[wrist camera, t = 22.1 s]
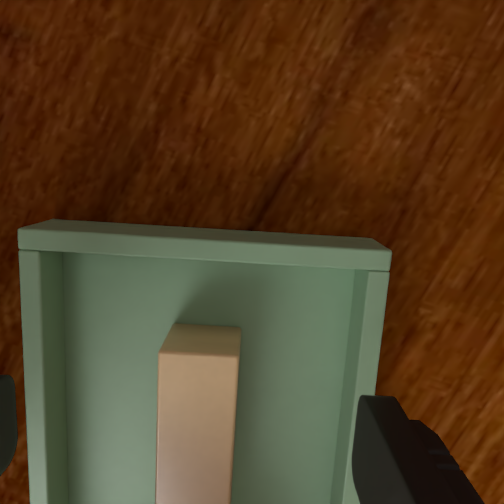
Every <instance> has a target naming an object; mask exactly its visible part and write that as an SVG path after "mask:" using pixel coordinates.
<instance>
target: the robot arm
mask: <svg viewBox="0 0 504 504" xmlns="http://www.w3.org/2000/svg"><path fill="white" fill-rule="evenodd" d="M17 439H18V432H17V415H16V398H15V384H14V380H13V378H12V377H11V376H9V375H0V476H1V474H2V473H3V472H4V471H5V469H6V468H7V467H8V465H9V464H10V462H11V460H12V458H13V456H14V453H15V450H16V446H17ZM352 476H353V482H354V486H355V489H356V492H357V495H358V499H359V502H360V504H484V502H483V501H482V499H481V498H480V496H479V495H478V493H477V492H476V490H475V489H474V487H473V486H472V484H471V483H470V482H469V480H468V479H467V477H466V476H465V474H464V473H463V471H462V470H460V469H459V465H458V464H457V462H456V461H455V459H454V458H453V456H451V455H450V454H449V451H448V449H447V448H446V446H445V445H444V443H443V442H442V440H441V439H440V437H439V436H438V435H437V434H436V433H435V432H433V431H432V430H431V429H430V428H428V427H427V426H426V425H424V424H423V423H422V422H421V421H419V420H409V419H408V417H407V416H406V414H405V412H404V411H403V409H402V407H401V406H400V404H399V403H398V401H397V399H396V398H395V397H393V396H375V395H361V396H360V398H359V401H358V406H357V415H356V423H355V432H354V440H353V449H352Z"/></svg>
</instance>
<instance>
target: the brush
mask: <svg viewBox="0 0 504 504" xmlns="http://www.w3.org/2000/svg"><path fill="white" fill-rule="evenodd" d="M241 331H242V330H241V328H240V327H228V326H211V325H195V324H178V323H174V324H173V325H172V327H171V329H170V330H169V332H168V334H167V336H166V338H165V340H164V342H163V344H162V346H161V348H160V350H159V352H158V377H157V424H156V472H155V504H231V497H232V480H233V464H234V447H235V430H236V414H237V397H238V381H239V364H240V347H241Z"/></svg>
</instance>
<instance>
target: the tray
mask: <svg viewBox="0 0 504 504" xmlns="http://www.w3.org/2000/svg"><path fill="white" fill-rule="evenodd" d="M18 247H19V249H21V250H19V273H20V295H21V317H22V339H23V361H24V383H25V405H26V427H27V449H28V471H29V492H30V504H155V472H156V424H157V377H158V352H159V350H160V348H161V346H162V344H163V342H164V340H165V338H166V336H167V334H168V332H169V330H170V329H171V327H172V325H173V324H174V323H178V324H195V325H211V326H228V327H240V328H241V330H242V331H241V347H240V364H239V381H238V397H237V414H236V430H235V447H234V464H233V480H232V497H231V504H360V502H359V499H358V495H357V492H356V489H355V486H354V482H353V476H352V449H353V440H354V432H355V423H356V415H357V406H358V401H359V398H360V396H361V395H375V387H376V379H377V371H378V363H379V355H380V347H381V339H382V331H383V323H384V315H385V307H386V299H387V291H388V283H389V275H390V273H389V270H390V265H391V257H392V251H391V250H390V249H388V248H386V247H385V246H383V245H381V244H380V243H378V242H377V241H375V240H374V239H372V238H361V237H344V236H328V235H311V234H294V233H277V232H261V231H244V230H227V229H211V228H194V227H177V226H160V225H144V224H127V223H110V222H93V221H77V220H60V219H51V220H47V221H44V222H41V223H37V224H33V225H29V226H25V227H22V228H18Z"/></svg>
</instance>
